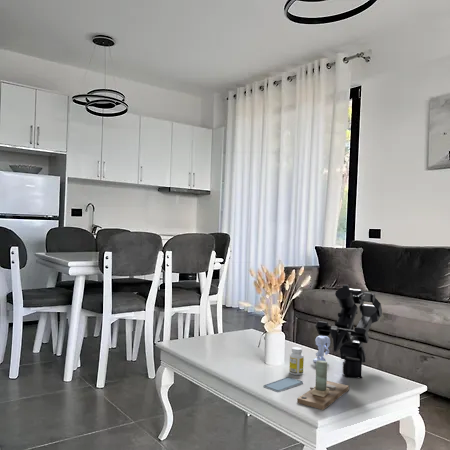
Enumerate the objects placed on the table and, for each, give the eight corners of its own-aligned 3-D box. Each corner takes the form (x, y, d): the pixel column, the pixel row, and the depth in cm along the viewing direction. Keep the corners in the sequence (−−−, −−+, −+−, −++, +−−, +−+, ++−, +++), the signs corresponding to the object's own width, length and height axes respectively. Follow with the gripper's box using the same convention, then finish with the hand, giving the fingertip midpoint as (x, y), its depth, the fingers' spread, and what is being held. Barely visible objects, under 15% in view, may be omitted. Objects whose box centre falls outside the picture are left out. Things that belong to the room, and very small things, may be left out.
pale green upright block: (313, 388, 158) (314, 358, 158) (329, 392, 155) (330, 361, 155) (307, 392, 154) (308, 361, 154) (323, 397, 151) (324, 365, 151)
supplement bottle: (301, 371, 183) (302, 346, 183) (304, 375, 178) (305, 350, 178) (288, 370, 183) (289, 346, 183) (290, 375, 178) (291, 349, 178)
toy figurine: (320, 359, 202) (321, 331, 202) (331, 363, 196) (332, 335, 196) (309, 361, 198) (310, 333, 198) (319, 365, 193) (320, 336, 193)
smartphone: (262, 385, 164) (288, 376, 174) (262, 388, 164) (288, 379, 174) (278, 391, 158) (304, 381, 169) (278, 394, 158) (304, 384, 169)
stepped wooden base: (325, 384, 169) (325, 377, 169) (348, 389, 164) (349, 383, 164) (297, 402, 149) (297, 395, 149) (323, 409, 144) (323, 402, 144)
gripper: (375, 332, 172) (365, 368, 163) (328, 325, 183) (316, 358, 174) (370, 314, 166) (359, 351, 157) (321, 307, 176) (308, 341, 167)
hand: (335, 351), depth 164 cm, fingers closed
